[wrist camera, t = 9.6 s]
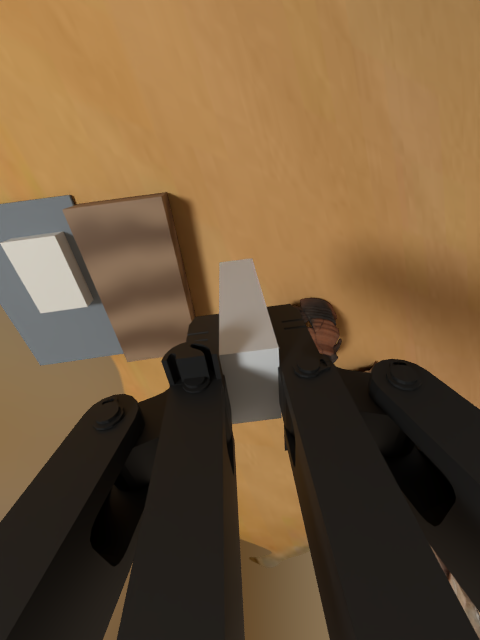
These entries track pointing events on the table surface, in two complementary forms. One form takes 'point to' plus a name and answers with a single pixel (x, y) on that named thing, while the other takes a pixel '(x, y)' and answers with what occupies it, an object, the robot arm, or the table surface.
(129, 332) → the block
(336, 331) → the pottery mug
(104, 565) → the robot arm
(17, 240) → the white rectangular block
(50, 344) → the mat
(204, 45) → the table surface
